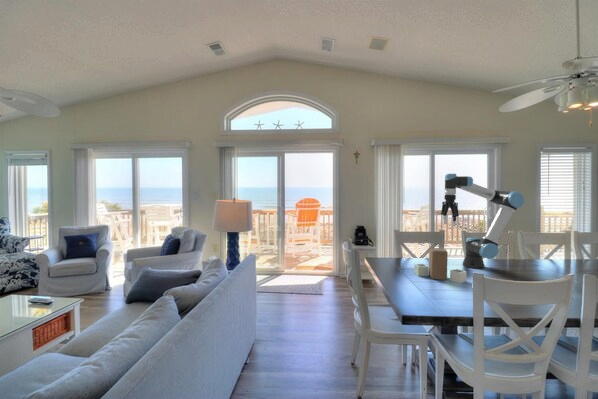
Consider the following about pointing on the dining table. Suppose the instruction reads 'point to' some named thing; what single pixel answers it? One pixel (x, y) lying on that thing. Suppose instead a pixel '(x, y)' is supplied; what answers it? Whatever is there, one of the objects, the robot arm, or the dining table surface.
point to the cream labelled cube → (458, 275)
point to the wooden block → (438, 263)
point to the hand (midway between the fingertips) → (449, 224)
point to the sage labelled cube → (420, 269)
